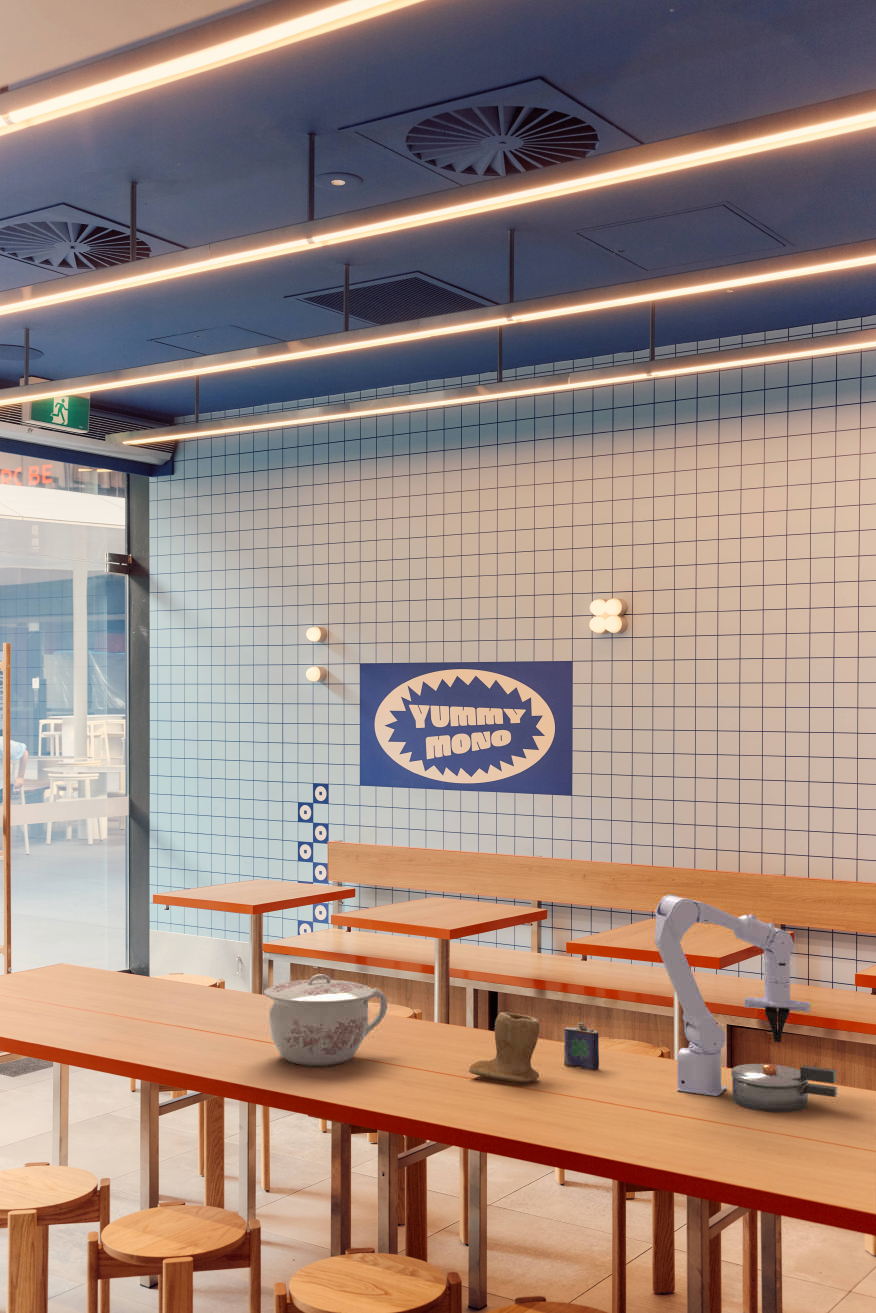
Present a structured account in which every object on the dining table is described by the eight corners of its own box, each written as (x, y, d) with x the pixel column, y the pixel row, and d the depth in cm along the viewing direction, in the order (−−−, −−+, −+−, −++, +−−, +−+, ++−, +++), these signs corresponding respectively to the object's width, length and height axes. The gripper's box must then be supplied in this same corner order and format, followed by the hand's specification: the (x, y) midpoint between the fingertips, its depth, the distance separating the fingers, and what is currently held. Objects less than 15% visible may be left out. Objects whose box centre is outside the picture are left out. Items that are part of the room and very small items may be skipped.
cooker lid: (721, 1080, 265) (721, 1064, 265) (744, 1064, 279) (743, 1049, 279) (825, 1095, 254) (825, 1078, 254) (843, 1078, 268) (843, 1063, 268)
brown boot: (548, 1077, 286) (549, 1012, 287) (525, 1089, 275) (526, 1021, 277) (491, 1068, 293) (492, 1005, 295) (467, 1079, 283) (468, 1013, 285)
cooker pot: (724, 1105, 264) (724, 1081, 264) (742, 1088, 278) (742, 1066, 278) (829, 1120, 254) (829, 1095, 254) (842, 1102, 268) (842, 1078, 268)
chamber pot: (242, 1068, 291) (244, 979, 293) (289, 1043, 317) (291, 962, 319) (352, 1078, 283) (353, 987, 284) (390, 1052, 309) (392, 969, 311)
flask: (562, 1065, 298) (562, 1020, 299) (568, 1063, 300) (568, 1018, 301) (596, 1071, 292) (596, 1025, 293) (601, 1069, 295) (601, 1023, 296)
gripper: (743, 981, 280) (743, 1042, 279) (809, 986, 275) (809, 1047, 274) (746, 976, 287) (746, 1035, 285) (810, 981, 282) (811, 1041, 281)
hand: (777, 1041), depth 280 cm, fingers closed
